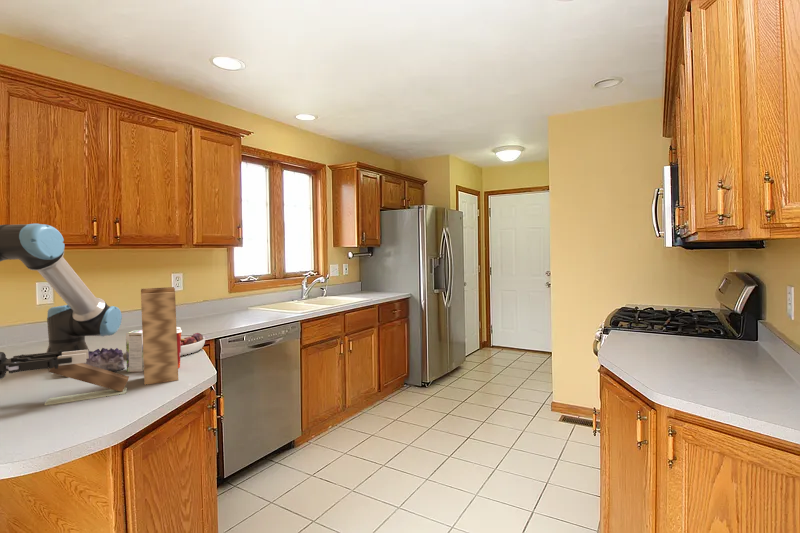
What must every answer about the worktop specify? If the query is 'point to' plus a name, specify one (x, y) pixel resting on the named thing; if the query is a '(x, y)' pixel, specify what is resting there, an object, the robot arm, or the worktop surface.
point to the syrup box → (134, 351)
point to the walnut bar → (92, 375)
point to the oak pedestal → (159, 335)
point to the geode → (106, 359)
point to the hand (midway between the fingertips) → (86, 355)
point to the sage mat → (84, 396)
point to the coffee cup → (178, 344)
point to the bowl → (191, 343)
